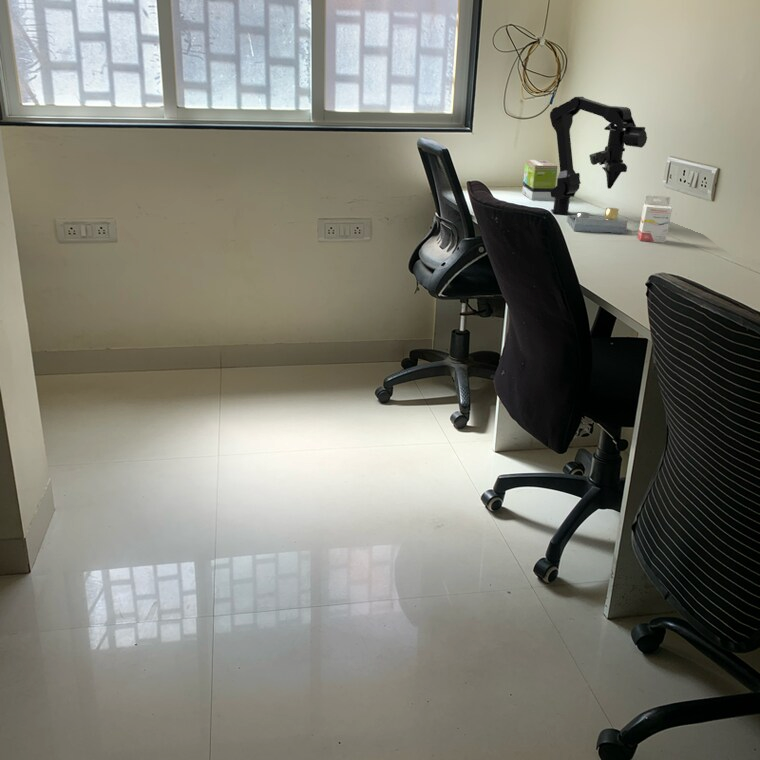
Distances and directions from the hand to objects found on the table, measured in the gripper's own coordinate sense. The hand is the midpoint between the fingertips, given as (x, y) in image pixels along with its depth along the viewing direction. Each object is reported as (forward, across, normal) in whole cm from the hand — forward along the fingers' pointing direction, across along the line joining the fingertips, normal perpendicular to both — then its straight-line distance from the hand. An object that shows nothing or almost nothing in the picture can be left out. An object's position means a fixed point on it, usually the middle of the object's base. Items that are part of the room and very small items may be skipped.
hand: (609, 188), depth 285 cm
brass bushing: (+12, +10, 0) cm, 16 cm away
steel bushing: (+13, +10, -10) cm, 19 cm away
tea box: (+13, -46, -19) cm, 51 cm away
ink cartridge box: (+13, +26, +11) cm, 31 cm away
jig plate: (+12, +10, -5) cm, 17 cm away
